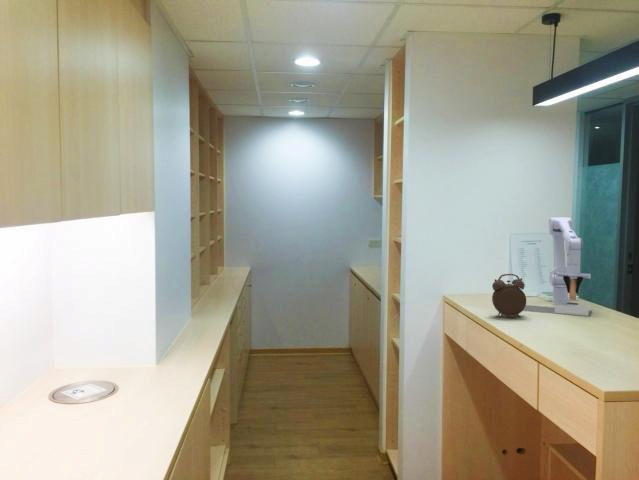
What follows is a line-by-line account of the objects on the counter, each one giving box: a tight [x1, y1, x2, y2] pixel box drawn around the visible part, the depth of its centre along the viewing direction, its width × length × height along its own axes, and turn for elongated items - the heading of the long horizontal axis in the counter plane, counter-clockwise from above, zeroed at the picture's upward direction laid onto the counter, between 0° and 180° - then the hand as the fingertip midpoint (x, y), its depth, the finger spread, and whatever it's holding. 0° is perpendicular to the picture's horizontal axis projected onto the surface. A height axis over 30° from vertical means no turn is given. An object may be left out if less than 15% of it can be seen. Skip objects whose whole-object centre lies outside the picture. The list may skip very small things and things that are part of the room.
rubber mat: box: [522, 304, 593, 318], centre depth 252 cm, size 14×30×1 cm, turn 60°
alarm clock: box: [491, 273, 527, 318], centre depth 242 cm, size 15×7×20 cm, turn 84°
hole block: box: [554, 300, 591, 317], centre depth 248 cm, size 12×14×4 cm
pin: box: [568, 278, 577, 301], centre depth 247 cm, size 3×3×10 cm
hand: (572, 292), depth 248 cm, fingers closed on pin, 3 cm apart
